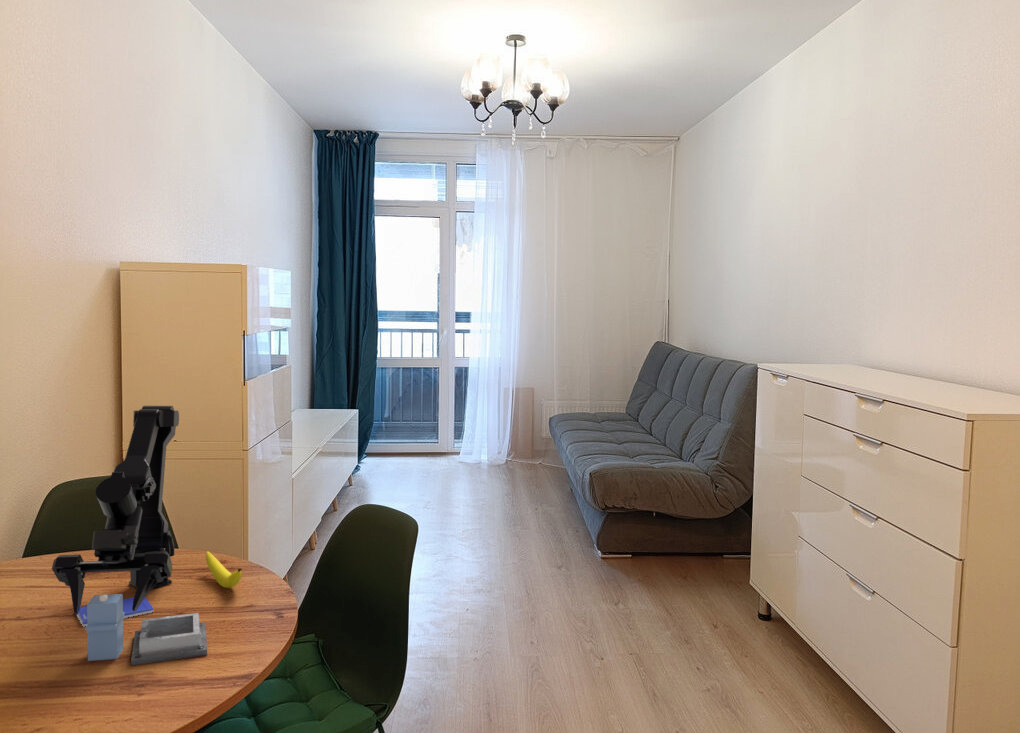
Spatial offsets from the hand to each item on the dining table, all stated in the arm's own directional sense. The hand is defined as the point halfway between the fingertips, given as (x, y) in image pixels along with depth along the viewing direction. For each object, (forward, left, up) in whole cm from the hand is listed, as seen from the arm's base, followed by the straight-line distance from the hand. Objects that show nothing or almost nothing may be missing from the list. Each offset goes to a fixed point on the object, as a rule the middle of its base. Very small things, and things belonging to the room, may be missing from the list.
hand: (105, 612), depth 132 cm
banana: (-32, -14, -8) cm, 36 cm away
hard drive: (-10, -17, -8) cm, 21 cm away
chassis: (-9, +5, -8) cm, 13 cm away
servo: (0, 0, -8) cm, 8 cm away
